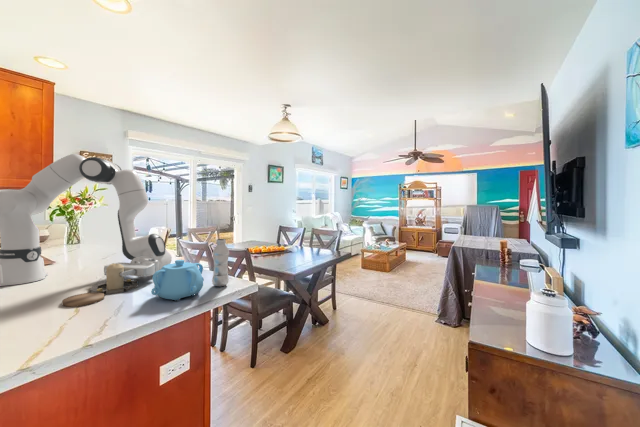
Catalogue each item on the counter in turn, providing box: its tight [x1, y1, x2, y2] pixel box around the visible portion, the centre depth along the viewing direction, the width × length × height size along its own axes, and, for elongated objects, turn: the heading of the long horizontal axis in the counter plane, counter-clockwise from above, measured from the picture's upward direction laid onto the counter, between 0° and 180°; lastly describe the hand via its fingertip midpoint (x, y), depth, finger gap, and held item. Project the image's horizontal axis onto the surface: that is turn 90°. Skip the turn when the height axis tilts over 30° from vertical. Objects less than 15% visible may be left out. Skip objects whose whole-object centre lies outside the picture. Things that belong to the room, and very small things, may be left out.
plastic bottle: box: [211, 238, 230, 287], centre depth 113 cm, size 6×7×20 cm
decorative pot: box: [150, 259, 204, 301], centre depth 101 cm, size 16×16×14 cm
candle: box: [105, 262, 125, 290], centre depth 107 cm, size 6×6×10 cm
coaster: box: [61, 292, 105, 308], centre depth 93 cm, size 11×11×1 cm
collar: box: [89, 278, 139, 296], centre depth 107 cm, size 15×15×2 cm
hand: (113, 274), depth 106 cm, fingers closed on candle, 5 cm apart
